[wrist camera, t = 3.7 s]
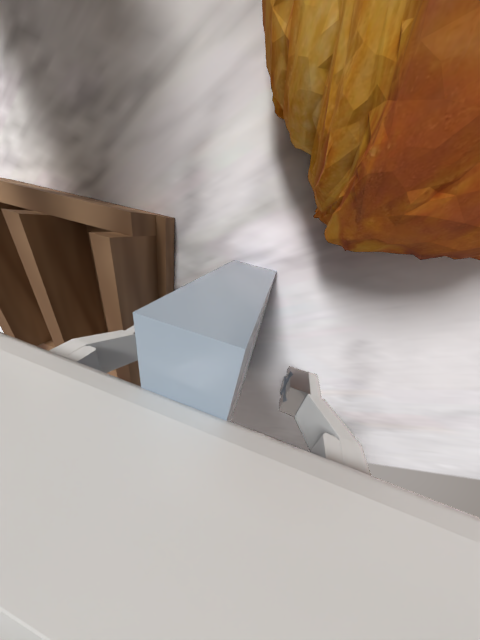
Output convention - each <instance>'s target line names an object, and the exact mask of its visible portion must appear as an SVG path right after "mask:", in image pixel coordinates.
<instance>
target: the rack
mask: <svg viewBox="0 0 480 640" xmlns="http://www.w3.org/2000/svg"><path fill="white" fill-rule="evenodd" d="M174 222H175V218H172V217H168V216H163V215H159V214H155V213H151V212H147V211H142V210H138V209H134V208H130V207H125V206H121V205H117V204H113V203H108V202H104V201H100V200H96V199H92V198H87V197H83V196H79V195H75V194H70V193H66V192H62V191H58V190H53V189H49V188H45V187H41V186H37V185H32V184H28V183H24V182H20V181H15V180H11V179H5V178H0V326H1V328H2V330H3V332H4V334H7V335H9V336H12V337H14V338H17V339H19V340H22V341H25V342H27V343H30V344H32V345H35V346H38V347H40V348H43V349H45V350H48V351H49V350H51V349H53V348H55V347H57V346H59V345H61V344H63V343H65V342H67V341H69V340H71V339H74V338H80V337H85V336H91V335H96V334H102V333H108V332H113V331H119V330H124V331H125V330H127V329H128V328H130V327H132V326H133V325H134V320H133V312H134V311H136V310H138V309H140V308H142V307H144V306H146V305H148V304H150V303H152V302H154V301H156V300H157V299H159V298H161V297H163V296H165V295H167V294H169V293H171V292H173V291H174ZM107 374H110V375H112V376H115V377H118V378H120V379H123V380H125V381H128V382H130V383H133V384H136V385H138V386H141V382H140V373H139V364H138V360H137V361H135V362H132V363H130V364H127V365H125V366H122V367H120V368H117V369H115V370H112V371H110V372H107Z"/></svg>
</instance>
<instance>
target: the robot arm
mask: <svg viewBox="0 0 480 640" xmlns="http://www.w3.org/2000/svg"><path fill="white" fill-rule="evenodd" d="M137 360H138V355H137V347H136V338H135V329H134V325H133V326H132V327H130V328H128V329H127V330H125V331H124V330H119V331H113V332H108V333H102V334H96V335H91V336H85V337H80V338H74V339H71V340H69V341H67V342H65V343H63V344H61V345H59V346H57V347H55V348H53V349H51V350H49V351H48V350H45V349H43V348H40V347H38V346H35V345H32V344H30V343H27V342H25V341H22V340H19V339H17V338H14V337H12V336H9V335H7V334H4V333H1V332H0V640H480V518H479V517H476V516H474V515H471V514H469V513H466V512H463V511H461V510H458V509H456V508H453V507H450V506H448V505H445V504H443V503H440V502H437V501H435V500H432V499H430V498H427V497H425V496H422V495H419V494H417V493H414V492H411V491H409V490H406V489H404V488H401V487H398V486H396V485H393V484H391V483H388V482H386V481H383V480H381V479H378V478H375V477H372V476H371V474H370V470H369V467H368V465H367V461H366V458H365V455H364V451H363V448H362V445H361V444H360V443H359V442H358V440H357V439H356V438H355V437H354V435H353V434H352V433H351V432H350V430H349V429H348V428H347V427H346V425H345V424H344V423H343V422H342V420H341V419H340V418H339V417H338V415H337V414H336V413H335V412H334V410H333V409H332V408H331V407H330V405H329V404H328V403H327V402H326V401H325V399H322V396H321V391H320V385H319V380H318V376H317V374H313V373H310V372H306V371H303V370H300V369H297V368H294V367H290V366H289V368H288V369H287V374H286V376H285V377H284V379H283V381H282V384H281V389H280V394H281V398H280V400H279V411H281V412H284V413H286V414H289V415H291V416H294V418H295V420H296V422H297V424H298V426H299V428H300V431H301V433H302V435H303V437H304V439H305V441H306V443H307V445H308V447H309V450H310V452H308V451H306V450H303V449H301V448H298V447H295V446H293V445H290V444H288V443H285V442H283V441H280V440H277V439H275V438H272V437H270V436H267V435H265V434H262V433H259V432H257V431H254V430H252V429H249V428H247V427H244V426H241V425H239V424H236V423H234V422H231V421H228V420H227V421H226V420H223V419H221V418H218V417H215V416H213V415H210V414H208V413H205V412H203V411H200V410H197V409H195V408H192V407H190V406H187V405H185V404H182V403H179V402H177V401H174V400H172V399H169V398H167V397H164V396H161V395H159V394H156V393H154V392H151V391H149V390H146V389H143V388H141V386H138V385H136V384H133V383H130V382H128V381H125V380H123V379H120V378H118V377H115V376H112V375H110V374H107V372H110V371H112V370H115V369H117V368H120V367H122V366H125V365H127V364H130V363H132V362H135V361H137Z"/></svg>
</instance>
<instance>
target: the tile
mask: <svg viewBox="0 0 480 640" xmlns="http://www.w3.org/2000/svg"><path fill="white" fill-rule="evenodd" d="M275 275H276V271H274V270H270V269H266V268H262V267H258V266H254V265H250V264H247V263H243V262H239V261H235V260H233V261H231V262H229V263H227V264H225V265H223V266H222V267H220V268H218V269H216V270H214V271H212V272H210V273H208V274H206V275H204V276H202V277H200V278H198V279H196V280H194V281H192V282H190V283H189V284H187V285H185V286H183V287H181V288H179V289H177V290H175V291H173V292H171V293H169V294H167V295H165V296H163V297H161V298H159V299H157V300H156V301H154V302H152V303H150V304H148V305H146V306H144V307H142V308H140V309H138V310H136V311H134V312H133V320H134V329H135V338H136V347H137V355H138V364H139V373H140V382H141V388H143V389H146V390H149V391H151V392H154V393H156V394H159V395H161V396H164V397H167V398H169V399H172V400H174V401H177V402H179V403H182V404H185V405H187V406H190V407H192V408H195V409H197V410H200V411H203V412H205V413H208V414H210V415H213V416H215V417H218V418H221V419H223V420H226V421H227V420H228V421H231V419H232V416H233V413H234V410H235V407H236V404H237V401H238V398H239V395H240V391H241V388H242V385H243V382H244V379H245V376H246V373H247V370H248V367H249V363H250V360H251V356H252V353H253V350H254V346H255V343H256V339H257V336H258V333H259V329H260V326H261V322H262V319H263V316H264V312H265V309H266V305H267V302H268V299H269V295H270V292H271V288H272V285H273V282H274V278H275Z"/></svg>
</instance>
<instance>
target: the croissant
mask: <svg viewBox="0 0 480 640" xmlns="http://www.w3.org/2000/svg"><path fill="white" fill-rule="evenodd" d="M262 9H263V26H264V32H265V46H266V65H267V69H268V72H269V75H270V77H271V89H272V92H273V100H272V101H273V102H274V105H275V113H276V114H277V116H278V117H279V118H282V119H285V124H286V128H287V129H288V131H289V133H290V139H291V143H292V144H293V145H294V147H295V148H298V149H301V150H303V151H304V152H306V153H308V154H310V155H311V161H310V167H309V171H308V180H309V182H310V184H311V187H312V189H313V191H314V195H315V196H314V198H315V201H316V205H317V209H316V211H315V212H316V214H315V215H314V218H319V219H320V220H321V221H322V222H323V223H325V224H326V225H327V227H326V229H325V233H324V235H325V239H326V241H327V242H328V243H332V244H336V245H340V246H342V247H343V248H344V250H345V251H346V250H348V251H353V252H387V253H396V254H411V255H414V256H416V257H417V258H419V259H420V260H422V259H429V258H435V257H442V256H447V257H450V258H452V259H462V258H469V257H470V258H474V259H478V260H480V0H262Z"/></svg>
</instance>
